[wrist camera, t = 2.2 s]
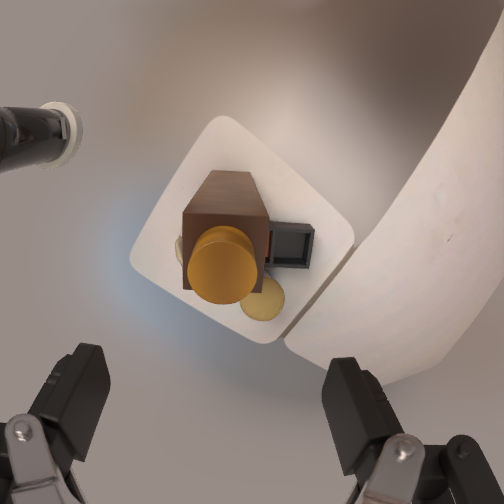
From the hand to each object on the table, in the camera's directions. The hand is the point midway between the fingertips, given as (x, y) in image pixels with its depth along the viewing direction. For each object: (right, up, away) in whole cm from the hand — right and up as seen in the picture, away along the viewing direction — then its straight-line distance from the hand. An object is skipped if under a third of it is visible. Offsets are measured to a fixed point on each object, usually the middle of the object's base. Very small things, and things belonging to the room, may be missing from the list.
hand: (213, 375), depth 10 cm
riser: (-2, +13, +35) cm, 37 cm away
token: (-1, +4, +10) cm, 11 cm away
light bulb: (+2, 0, +40) cm, 40 cm away
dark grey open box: (+4, +6, +38) cm, 38 cm away
